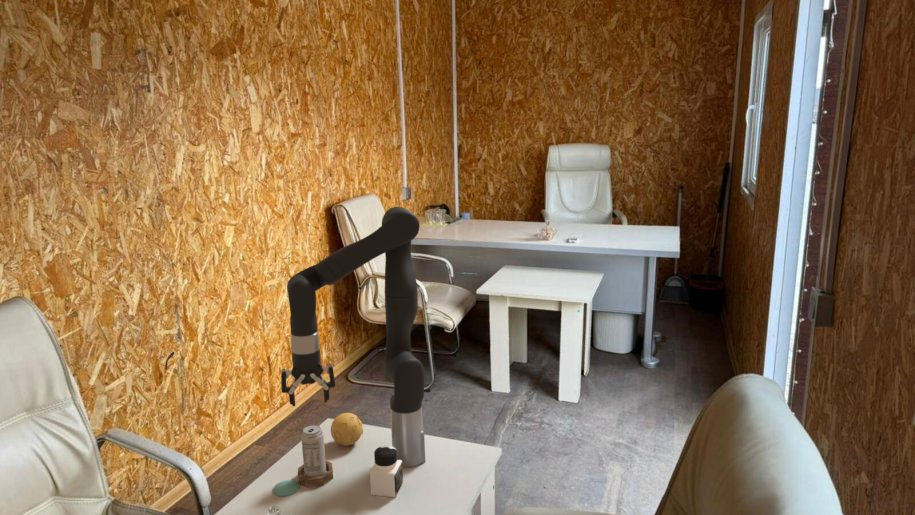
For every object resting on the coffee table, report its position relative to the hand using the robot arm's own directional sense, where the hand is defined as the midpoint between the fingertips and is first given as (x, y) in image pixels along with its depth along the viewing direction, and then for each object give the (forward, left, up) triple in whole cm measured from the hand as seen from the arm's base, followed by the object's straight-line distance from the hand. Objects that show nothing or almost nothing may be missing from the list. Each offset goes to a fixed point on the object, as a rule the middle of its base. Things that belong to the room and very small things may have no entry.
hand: (309, 403), depth 169 cm
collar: (0, 0, -23) cm, 23 cm away
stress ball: (-10, -16, -23) cm, 30 cm away
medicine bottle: (-19, +11, -23) cm, 32 cm away
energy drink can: (0, 0, -23) cm, 23 cm away
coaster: (+8, +3, -23) cm, 25 cm away
